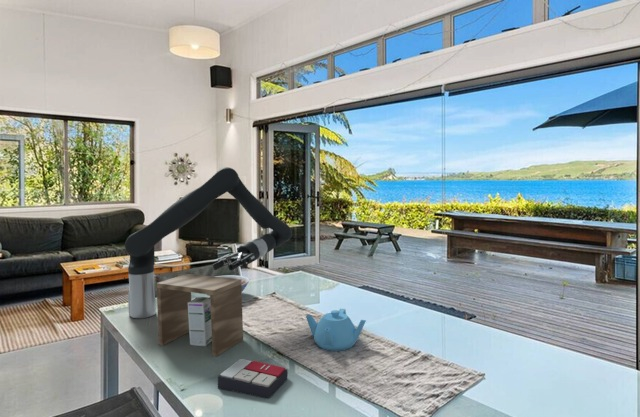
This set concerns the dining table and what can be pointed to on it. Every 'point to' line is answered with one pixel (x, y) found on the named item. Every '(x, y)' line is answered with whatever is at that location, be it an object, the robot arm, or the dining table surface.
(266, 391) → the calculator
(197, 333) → the syrup box
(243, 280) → the ramen bowl
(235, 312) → the cubby shelf
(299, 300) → the dining table surface
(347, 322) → the teapot
